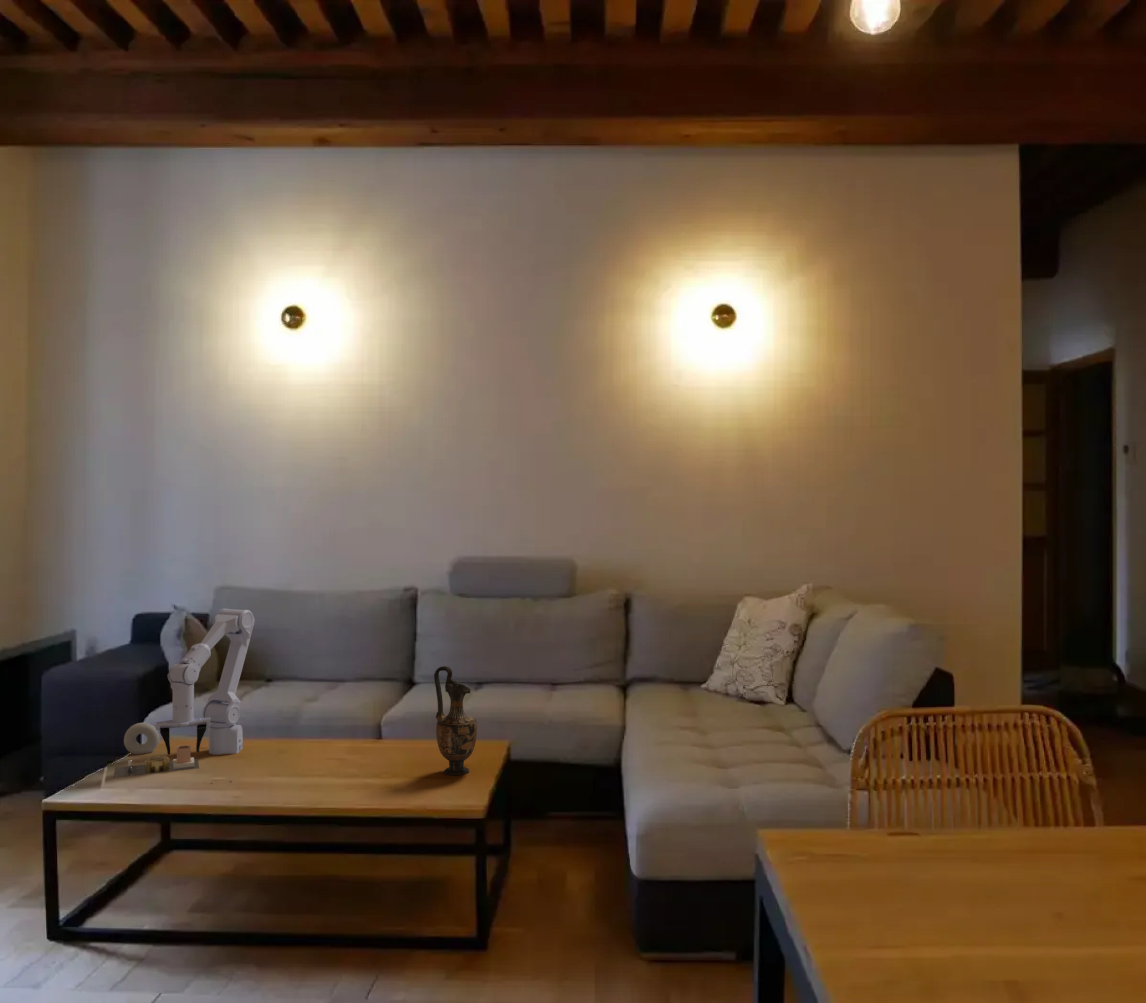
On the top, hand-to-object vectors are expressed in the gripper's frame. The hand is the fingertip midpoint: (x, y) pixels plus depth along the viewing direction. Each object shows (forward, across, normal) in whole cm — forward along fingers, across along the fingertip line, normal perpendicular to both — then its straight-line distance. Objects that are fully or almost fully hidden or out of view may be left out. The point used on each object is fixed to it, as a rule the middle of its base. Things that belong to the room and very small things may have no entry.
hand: (183, 752), depth 273 cm
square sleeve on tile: (+4, 0, 0) cm, 4 cm away
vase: (+5, +71, -33) cm, 79 cm away
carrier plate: (+5, -7, 0) cm, 8 cm away
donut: (+5, -11, +19) cm, 23 cm away
